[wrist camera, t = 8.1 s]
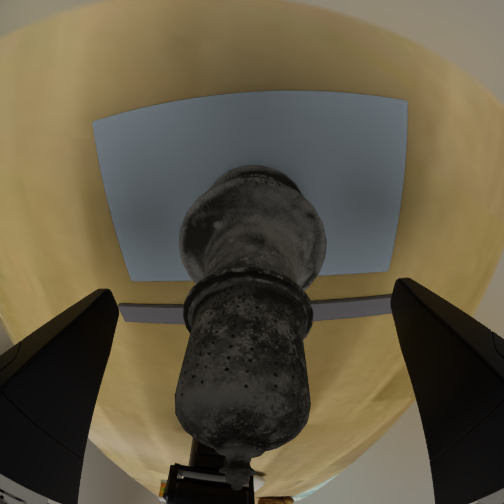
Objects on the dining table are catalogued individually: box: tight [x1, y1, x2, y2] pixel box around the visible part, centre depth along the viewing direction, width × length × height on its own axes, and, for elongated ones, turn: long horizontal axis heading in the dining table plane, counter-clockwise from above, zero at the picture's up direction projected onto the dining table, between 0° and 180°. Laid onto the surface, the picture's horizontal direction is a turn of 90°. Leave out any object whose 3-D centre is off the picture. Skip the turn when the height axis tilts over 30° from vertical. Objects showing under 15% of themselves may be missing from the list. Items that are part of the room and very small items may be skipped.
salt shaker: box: [175, 165, 327, 491], centre depth 9 cm, size 6×6×12 cm
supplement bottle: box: [159, 480, 167, 504], centre depth 52 cm, size 5×5×10 cm
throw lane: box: [92, 91, 408, 324], centre depth 14 cm, size 14×20×1 cm
